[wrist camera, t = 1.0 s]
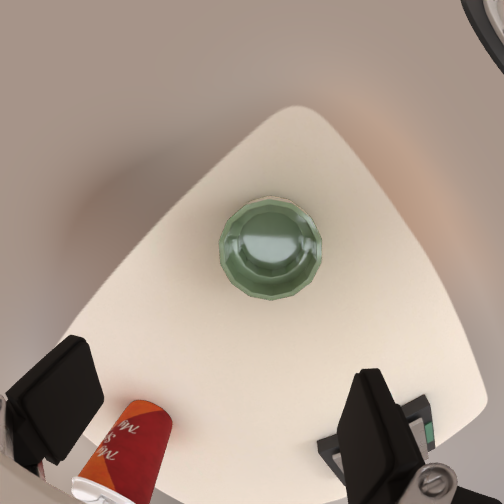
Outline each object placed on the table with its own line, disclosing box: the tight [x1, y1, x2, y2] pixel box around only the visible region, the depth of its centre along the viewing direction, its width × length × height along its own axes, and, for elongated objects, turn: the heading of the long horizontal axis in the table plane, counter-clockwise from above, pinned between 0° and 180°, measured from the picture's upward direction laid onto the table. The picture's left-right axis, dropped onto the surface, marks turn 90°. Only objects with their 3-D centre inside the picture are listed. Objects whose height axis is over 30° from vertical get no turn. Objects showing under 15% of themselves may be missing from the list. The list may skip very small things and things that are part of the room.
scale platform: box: [332, 418, 428, 473], centre depth 25 cm, size 11×11×1 cm
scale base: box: [317, 395, 435, 486], centre depth 27 cm, size 14×12×2 cm
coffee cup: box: [71, 400, 172, 504], centre depth 22 cm, size 8×8×15 cm
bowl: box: [219, 196, 322, 300], centre depth 21 cm, size 7×7×4 cm
